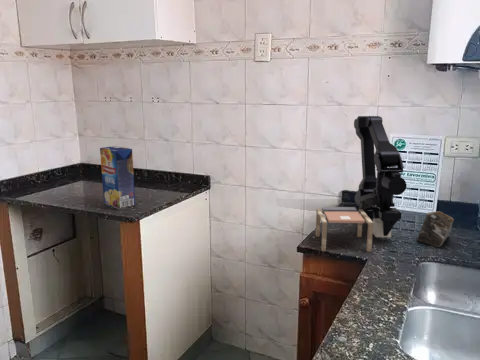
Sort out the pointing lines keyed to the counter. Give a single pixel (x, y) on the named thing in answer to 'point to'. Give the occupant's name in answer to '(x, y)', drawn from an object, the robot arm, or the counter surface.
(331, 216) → the trapdoor
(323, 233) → the frame
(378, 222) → the limestone block
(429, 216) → the rock
